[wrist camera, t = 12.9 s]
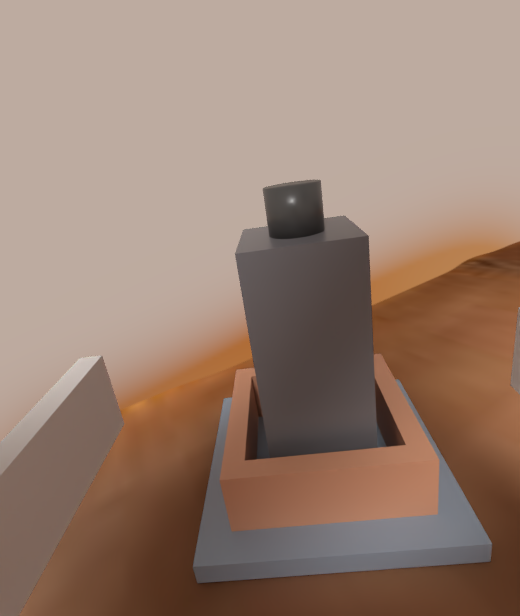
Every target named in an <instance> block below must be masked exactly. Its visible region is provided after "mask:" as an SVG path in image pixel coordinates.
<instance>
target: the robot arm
mask: <svg viewBox="0 0 520 616" xmlns="http://www.w3.org/2000/svg"><path fill="white" fill-rule="evenodd" d="M511 386H512V387H513V388H514V389H515V390H516V391H517V392H518V393H519V394H520V307H519V308H518V317H517V327H516V337H515V346H514V356H513V365H512V375H511ZM123 425H124V421H123V418H122V415H121V412H120V409H119V406H118V403H117V400H116V397H115V394H114V391H113V388H112V385H111V382H110V378H109V375H108V372H107V369H106V366H105V363H104V360H103V357H102V356H101V355H100V356H92V357H83V358H79V359H78V360H77V361H76V362H75V363H74V365H73V366H72V367H71V368H70V369H69V370H68V371H67V372H66V373H65V374H64V375H63V376H62V378H60V379H59V381H58V382H57V383H56V384H55V385H54V386H53V387H52V388H51V389H50V390H49V391H48V392H47V393H46V394H45V395H44V396H43V397H42V399H41V400H40V401H39V402H38V403H37V404H36V405H35V406H34V407H33V408H32V409H31V410H30V411H29V412H28V413H27V415H26V416H25V417H24V418H23V419H22V420H21V421H20V422H19V423H18V424H17V425H16V426H15V427H14V428H13V429H12V430H11V431H10V433H9V434H8V435H7V436H6V437H5V438H4V439H3V440H2V441H1V442H0V616H19V615H20V613H21V611H22V609H23V607H24V606H25V604H26V602H27V600H28V598H29V597H30V595H31V593H32V591H33V589H34V587H35V586H36V584H37V582H38V580H39V578H40V576H41V575H42V573H43V571H44V569H45V567H46V566H47V564H48V562H49V560H50V558H51V556H52V555H53V553H54V551H55V549H56V547H57V545H58V544H59V542H60V540H61V538H62V536H63V535H64V533H65V531H66V529H67V527H68V525H69V524H70V522H71V520H72V518H73V516H74V515H75V513H76V511H77V509H78V507H79V505H80V504H81V502H82V500H83V498H84V496H85V494H86V493H87V491H88V489H89V487H90V485H91V484H92V482H93V480H94V478H95V476H96V474H97V473H98V471H99V469H100V467H101V465H102V463H103V462H104V460H105V458H106V456H107V454H108V453H109V451H110V449H111V447H112V445H113V443H114V442H115V440H116V438H117V436H118V434H119V432H120V431H121V429H122V427H123Z"/></svg>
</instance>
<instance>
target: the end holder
mask: <svg viewBox="0 0 520 616" xmlns="http://www.w3.org/2000/svg"><path fill="white" fill-rule="evenodd" d="M374 376H375V400H376V423H377V446H378V448H370V449H359V450H349V451H339V452H328V453H318V454H307V455H297V456H287V457H276V458H270V456H269V450H268V445H267V439H266V433H265V427H264V421H263V415H262V409H261V403H260V397H259V392H258V386H257V380H256V374H255V368H248V369H239V370H236V376H235V383H234V389H233V396H232V398H224V401H223V407H222V412H221V417H220V423H219V428H218V433H217V439H216V444H215V449H214V455H213V460H212V466H211V471H210V476H209V482H208V487H207V492H206V498H205V503H204V508H203V514H202V519H201V525H200V530H199V535H198V541H197V546H196V551H195V557H194V562H193V570H194V573H195V577H196V580H197V583H207V582H221V581H234V580H248V579H261V578H275V577H289V576H302V575H316V574H329V573H343V572H356V571H370V570H383V569H397V568H411V567H424V566H438V565H451V564H465V563H478V562H491V552H492V543H491V541H490V539H489V537H488V535H487V534H486V532H485V530H484V528H483V527H482V525H481V523H480V521H479V520H478V518H477V516H476V514H475V513H474V511H473V509H472V507H471V506H470V504H469V502H468V500H467V499H466V497H465V495H464V493H463V492H462V490H461V488H460V486H459V484H458V483H457V481H456V479H455V477H454V476H453V474H452V472H451V470H450V469H449V467H448V465H447V463H446V462H445V460H444V458H443V456H442V455H441V453H440V451H439V449H438V448H437V446H436V444H435V442H434V441H433V439H432V437H431V435H430V433H429V432H428V430H427V428H426V426H425V425H424V423H423V421H422V419H421V418H420V416H419V414H418V412H417V411H416V409H415V407H414V405H413V404H412V402H411V400H410V398H409V397H408V395H407V393H406V391H405V390H404V388H403V386H402V384H401V382H400V381H399V379H397V380H395V378H394V377H393V375H392V373H391V371H390V369H389V368H388V366H387V364H386V362H385V360H384V358H383V357H382V355H381V353H380V354H374Z"/></svg>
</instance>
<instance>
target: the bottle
mask: <svg viewBox="0 0 520 616" xmlns="http://www.w3.org/2000/svg"><path fill="white" fill-rule="evenodd" d="M263 194H264V201H265V209H266V216H267V223H268V226H266V227H259V228H252V229H245V230H243V232H242V235H241V238H240V241H239V244H238V247H237V250H236V253H235V255H236V261H237V268H238V274H239V279H240V286H241V291H242V297H243V303H244V309H245V315H246V320H247V327H248V333H249V338H250V345H251V350H252V356H253V362H254V368H255V374H256V380H257V386H258V392H259V397H260V403H261V409H262V415H263V421H264V427H265V433H266V439H267V445H268V450H269V456H270V458H276V457H287V456H297V455H307V454H318V453H328V452H339V451H349V450H359V449H370V448H378V446H377V423H376V400H375V376H374V353H373V330H372V306H371V285H370V262H369V261H370V260H369V236H368V235H367V234H366V233H365V232H363V231H362V230H361V229H360V228H359V227H358V226H356V225H355V224H354V223H353V222H352V221H350V220H349V219H348V218H347V217H346V216H338V217H331V218H324V215H323V203H322V191H321V181H320V180H306V181H297V182H290V183H283V184H278V185H273V186H268V187H265V188H263Z"/></svg>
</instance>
